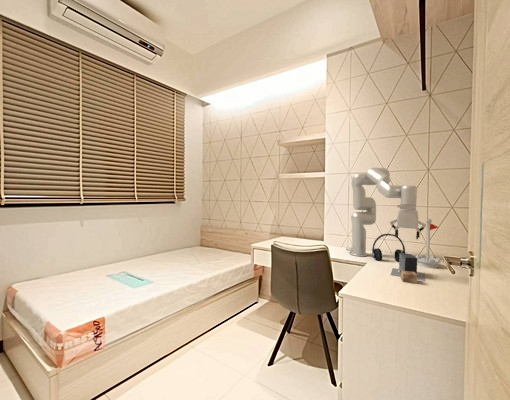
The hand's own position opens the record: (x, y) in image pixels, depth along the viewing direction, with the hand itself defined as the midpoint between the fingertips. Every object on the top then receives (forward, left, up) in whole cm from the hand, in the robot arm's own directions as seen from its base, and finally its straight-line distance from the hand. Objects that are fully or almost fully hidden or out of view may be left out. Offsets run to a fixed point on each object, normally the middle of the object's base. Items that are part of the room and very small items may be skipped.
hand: (406, 237), depth 141 cm
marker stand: (+11, +28, -21) cm, 37 cm away
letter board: (+1, -2, -21) cm, 21 cm away
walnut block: (+2, -15, -21) cm, 25 cm away
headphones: (-11, +26, -21) cm, 35 cm away
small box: (+1, -1, -20) cm, 20 cm away
